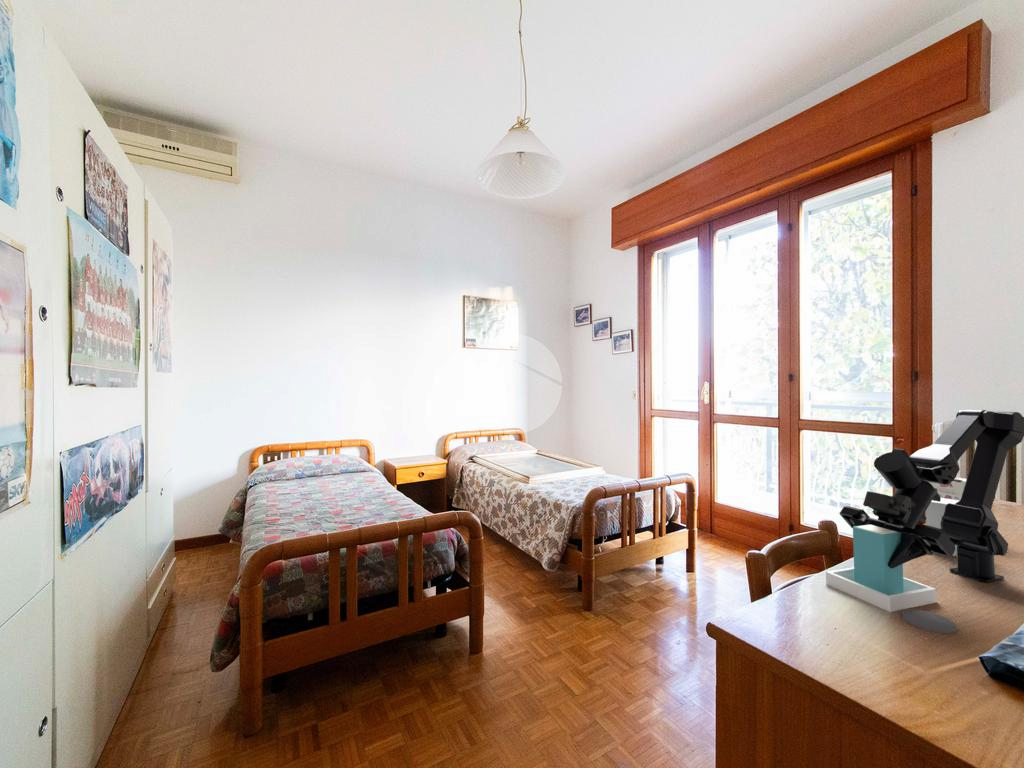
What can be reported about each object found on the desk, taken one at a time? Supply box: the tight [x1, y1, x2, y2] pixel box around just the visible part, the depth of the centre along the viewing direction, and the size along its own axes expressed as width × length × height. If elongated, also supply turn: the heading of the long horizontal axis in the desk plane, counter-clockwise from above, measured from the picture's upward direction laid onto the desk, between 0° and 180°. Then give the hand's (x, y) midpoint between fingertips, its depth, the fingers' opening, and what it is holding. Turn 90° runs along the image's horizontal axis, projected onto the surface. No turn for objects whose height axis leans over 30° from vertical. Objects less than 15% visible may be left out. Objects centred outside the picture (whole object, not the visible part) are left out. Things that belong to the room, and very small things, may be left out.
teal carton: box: [852, 524, 904, 595], centre depth 90 cm, size 5×6×13 cm
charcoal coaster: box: [901, 608, 957, 635], centre depth 78 cm, size 7×7×1 cm
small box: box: [925, 498, 959, 558], centre depth 112 cm, size 8×6×13 cm
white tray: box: [825, 566, 938, 613], centre depth 89 cm, size 13×13×3 cm
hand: (872, 560), depth 89 cm, fingers closed on teal carton, 6 cm apart
